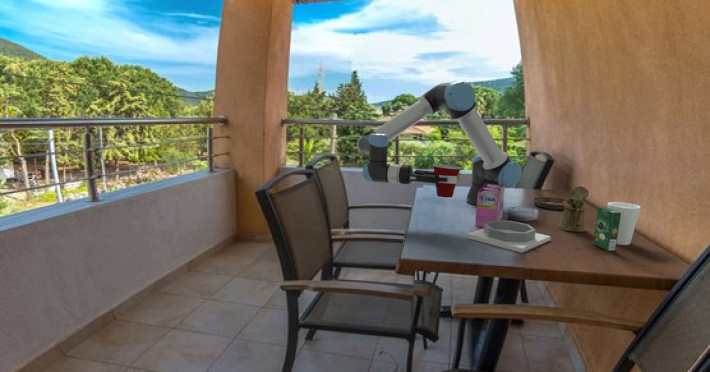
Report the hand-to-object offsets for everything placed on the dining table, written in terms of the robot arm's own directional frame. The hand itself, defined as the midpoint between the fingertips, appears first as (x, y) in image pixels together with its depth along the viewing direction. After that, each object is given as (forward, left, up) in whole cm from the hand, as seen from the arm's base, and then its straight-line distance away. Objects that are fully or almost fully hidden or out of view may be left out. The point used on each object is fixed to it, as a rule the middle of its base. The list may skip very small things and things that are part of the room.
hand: (458, 178), depth 155 cm
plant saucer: (-66, +8, -19) cm, 69 cm away
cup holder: (-1, +21, -19) cm, 28 cm away
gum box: (-19, +3, -19) cm, 27 cm away
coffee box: (-17, +46, -19) cm, 52 cm away
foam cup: (-28, +47, -19) cm, 58 cm away
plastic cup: (+3, -4, -7) cm, 9 cm away
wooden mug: (-30, +31, -19) cm, 47 cm away
